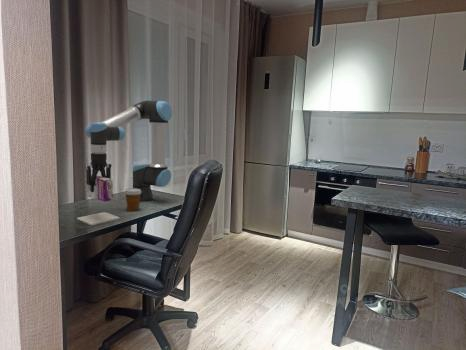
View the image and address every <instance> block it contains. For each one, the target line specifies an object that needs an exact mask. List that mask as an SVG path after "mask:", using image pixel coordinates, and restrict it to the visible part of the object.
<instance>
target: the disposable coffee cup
mask: <svg viewBox="0 0 466 350" xmlns="http://www.w3.org/2000/svg"><path fill="white" fill-rule="evenodd" d="M124 195H125V199H126V201H125V202H126V207H127V211H129V212H130V211H131V212H136V211H139V208H140V202H141V201H140V195H141V190H140V189H137V188H131V187H130V188H126V189H125V190H124Z"/></svg>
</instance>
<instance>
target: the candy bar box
mask: <svg viewBox="0 0 466 350" xmlns="http://www.w3.org/2000/svg"><path fill="white" fill-rule="evenodd" d="M94 186H96V198H95V199H96V200H99V201H102V202H104V203H105V202H108V201H109V202H110V201H113V200H114V197H113V196H114V195H113V194H114V192H113V186H114V185H113V179H112V178H111V179H109V178H105V177H102V176H101V175H97V176H96V181H95V185H94ZM87 196H88V197H90V198H92V192H91V191H90V185H87Z"/></svg>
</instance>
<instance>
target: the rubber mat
mask: <svg viewBox="0 0 466 350" xmlns="http://www.w3.org/2000/svg"><path fill="white" fill-rule="evenodd" d="M76 220H78V221H80V222H83V223H84V224H88V225H90V226H96V225H99V224H104V223H107V222H112V221H117V220H120V217H119V216H116V215H114V214H112V213H109V212H106V211H103V212H102V211H101V212H99V213H94V214H93V213H92V214H89V215H84V216H77V217H76Z"/></svg>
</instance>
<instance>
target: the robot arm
mask: <svg viewBox="0 0 466 350" xmlns="http://www.w3.org/2000/svg"><path fill="white" fill-rule="evenodd" d="M172 116H173V109H172V107H171V105H170V104H169V102H167V101H165V100H163V101H162V100H142V101H139V102H137V103H135V104H133V105H131V106H129V107H128V109H126V110H124V111H121V112H119V113H118V114H116V115H113V116H111V117H109V118H106V119H105V120H103V121H100V122H97V121H94V122H93V121H92V122H91V123H90V124H88V125H87V126H85V127H84V128H85V129H84V134H85V135H86V137H87V138H89V139H90V152H91V153H90V164H88V165H87V164H86V165H85V166H84V168H85V172H86V174H85V175H86V178H85V179H86V181H85V182H86V185H87V186H88V185H90V191H91V192H92V197H91V198H92V199H95V198H96V186H94V185H95V181H96V176H98V173H99V172H100V176H101V177H105V178H109V179H112V175H111V173H112V172H111V169H112V164H111V163H107V157H108V156H107V142H108V141H109V142H110V141H111V142H112V141H114V142H115V141H116V142H118V141H123V140H124V139H125V136H126V131H125V129H124V128H123V127H124V126H126V125H129V124H131V123H133V122H134V121H135V122H137V121H140V120H148V123H149V124H150V125H151V163H150V164H148V163H146V164H136V165H133V166H132V171H131V173H132V176H131V178H132V188H137V189H140V190H141V195H140V202H149V201H152V200H154V195H153V191H152V189H151V187H152V186H155V187H156V188H157V187H158V188H159V187H162V188H164V187H167V185H169V183H170V182H171V179H172V172H171V170H169V169H168V165H167V163H166V126H167V125H168V123H169V120H171V119H172Z"/></svg>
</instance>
